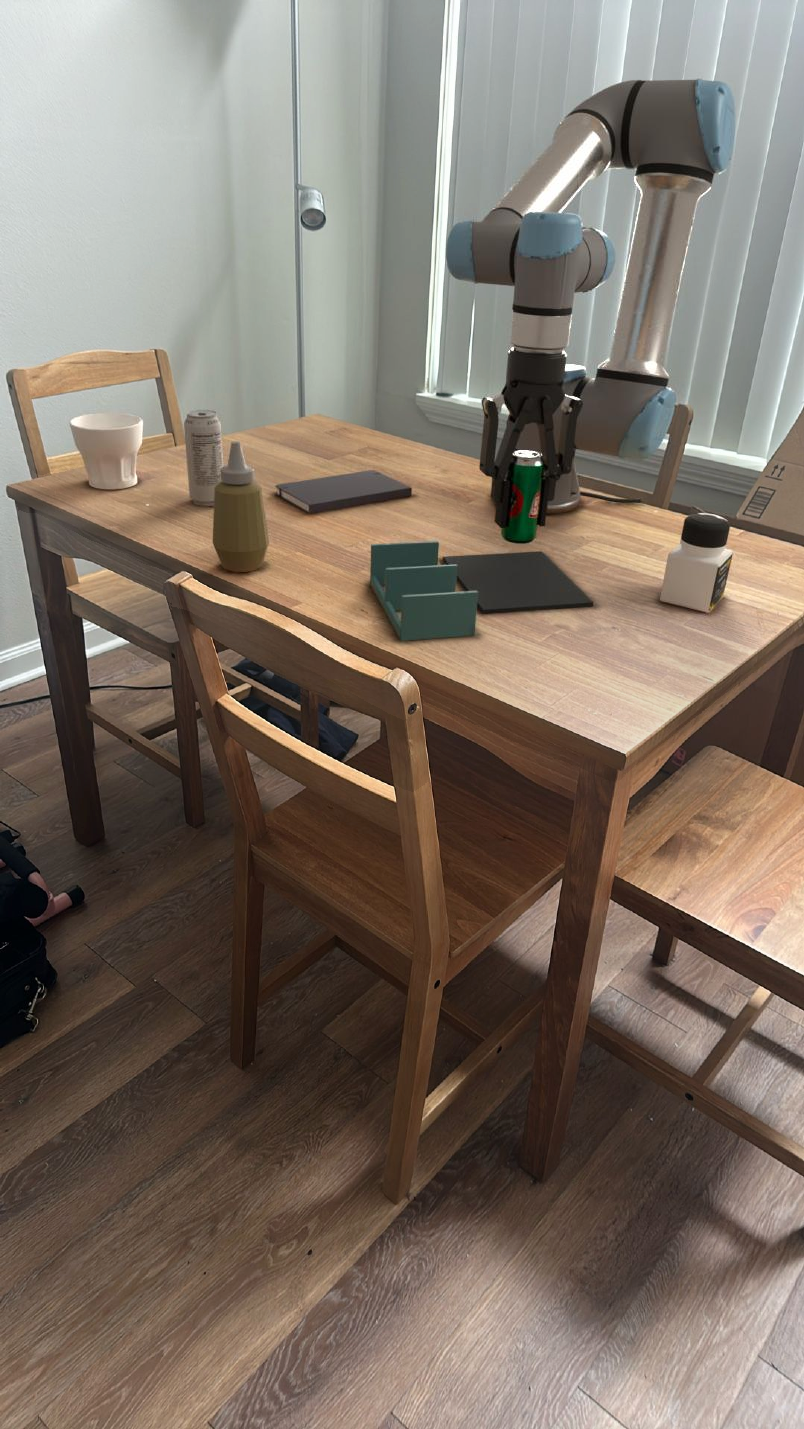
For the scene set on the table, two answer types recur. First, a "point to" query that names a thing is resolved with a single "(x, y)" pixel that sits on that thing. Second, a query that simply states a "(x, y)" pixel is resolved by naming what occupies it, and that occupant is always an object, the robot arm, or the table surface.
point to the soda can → (524, 496)
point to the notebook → (342, 491)
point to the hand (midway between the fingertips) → (519, 523)
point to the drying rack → (421, 592)
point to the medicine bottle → (698, 564)
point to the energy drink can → (203, 455)
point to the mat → (517, 582)
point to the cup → (108, 448)
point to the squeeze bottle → (239, 516)
